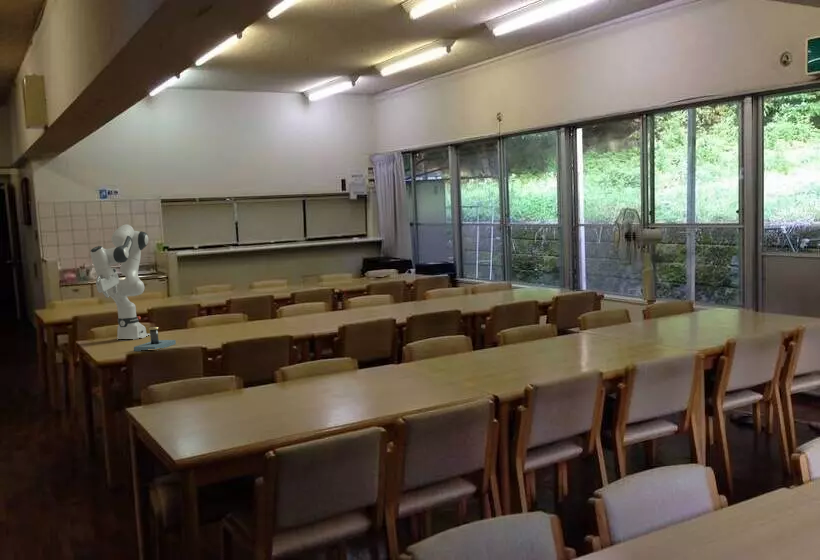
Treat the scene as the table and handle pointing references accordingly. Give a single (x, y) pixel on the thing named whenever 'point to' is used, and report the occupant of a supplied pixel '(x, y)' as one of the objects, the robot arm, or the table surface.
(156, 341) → the dark grey cylinder
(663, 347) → the table surface
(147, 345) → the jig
